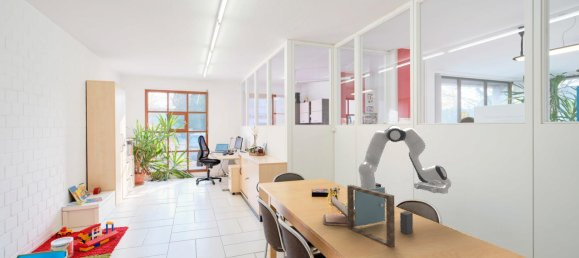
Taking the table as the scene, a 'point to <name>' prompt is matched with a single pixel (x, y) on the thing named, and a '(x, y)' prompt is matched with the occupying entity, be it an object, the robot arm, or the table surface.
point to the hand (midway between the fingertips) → (423, 189)
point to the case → (337, 218)
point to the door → (369, 207)
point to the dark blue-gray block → (406, 222)
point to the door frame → (389, 214)
